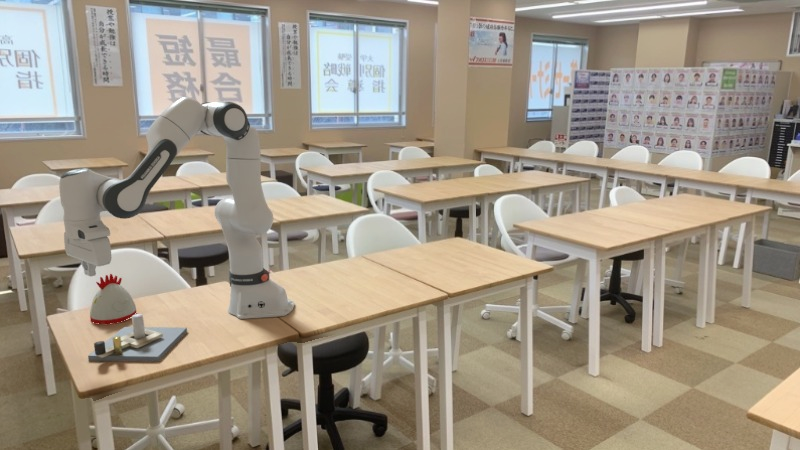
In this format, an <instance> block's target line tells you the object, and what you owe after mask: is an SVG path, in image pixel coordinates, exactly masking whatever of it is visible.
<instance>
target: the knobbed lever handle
mask: <svg viewBox="0 0 800 450" xmlns="http://www.w3.org/2000/svg"><path fill="white" fill-rule="evenodd" d="M144 329H145V328H144ZM161 337H163V333H159V332H155V331H152V330H148V329H145V337H144V338H142V339H140V340H136V339H134V332H132V333H129V334H127V335H124V336H122V337H121V345H122V349H124V348H126V347H128V346H131V347H134V348H139V347H141V346H143V345H145V344H148V343H150V342H152V341H154V340H157V339H159V338H161ZM105 342H106V341H104V340H99V341H95V342H94V343H93V347H94V351H95V354H96V355H97V356H98V357H101V358H103V357H105V356H108V355H110V354H112V353H114V346H111V347H109V348H106V349H105Z"/></svg>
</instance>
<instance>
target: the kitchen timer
mask: <svg viewBox="0 0 800 450" xmlns="http://www.w3.org/2000/svg"><path fill="white" fill-rule="evenodd" d="M122 278H123V277H119V279H118V275H113V274H112V273H109V275H108V274H105V278H103V277H102V276H100V277H99V280H100V282H98V281H96V285H97V286H98V287H99V288H98V290H97V291H96V292H95V294H94V296H93V299H92V302H91V306H90V311H89V317H90V322H91V321H92V322H94V323H99V324H107V325H111V324H110V323H115V324H118V323H117V322H120V323H122V322H121V321H124V320H126V319H128V318H130V317H132V316H133V315H135V313H136V312H137V307H136V304H135V303H136V302H135V301H134V299H133V297H132V295H131V294H130V293H129V291H128V290H127V289H126V288H125V287H123V285H121V283H122ZM136 314H137V313H136ZM92 322H91V323H92ZM124 322H125V321H124ZM94 323H93V324H94ZM99 324H98V325H99Z"/></svg>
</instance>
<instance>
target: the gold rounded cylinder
mask: <svg viewBox="0 0 800 450" xmlns="http://www.w3.org/2000/svg"><path fill="white" fill-rule="evenodd" d="M113 346H114V353H115V356H119V355H122V354H123V353H122V345H121V337H120V336H116V337H113Z"/></svg>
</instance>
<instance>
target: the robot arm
mask: <svg viewBox="0 0 800 450" xmlns="http://www.w3.org/2000/svg"><path fill="white" fill-rule="evenodd" d="M199 132H200V133H202V134H203V135H206V136H213V137H217V138H223V140H224V144H225V147H226V149H225V152H226V153H225V154H226V155H225V157H226V158H225V165H226V166H225V168H226V169H225V174H226V176H225V180H226V183H227V185H228V186H229V188H230V191H231V194H232V196H231V197H226V198H222V199H220V200H219V201H218V202H217V204H216V205H215V207H214V218H215V220H216V221H217V222H218V223H219V225H220V228H221V229H222V233H223V236H224V239H225V242H226V243H225V244H226V246H227V250H228V258H229V273H228V278H229V279H228V281H229V286H230V300H229V305H228V308H227V312H228V313H229V314H230V315H233V316H236V318H238V319H240V320H243V319H247V320H248V319H260V318H261V319H262V318H274V317H275V318H276V317H284V316H288V314H290V313H291V312H292V311H293V309H294V307H295V302H294V300H293V299H289V298H288V294H287V291H286V289H285V287H283V286H281V285H280V284H278V283H277V282H275V281H274V280H272V279H270V273H271V269H268V270H266V269H265V267H264V261H263V259H264V258H263V247H262V245H261V243H260V242H259V240H258V238H257V236H256V235H264V234H266V233H268V232H269V230H270V229H271V228H272V226H273V223H274V214H273V212H272V210H271V209H270V208H269V206H268V203H267V201H266V197H265V195H264V191H263V185H262V174H261V173H262V171H261V167H262V166H261V163H262V162H261V160H262V159H261V143H260V137H259V132H258V130H257V129H256V128H255V127H254V126H252V125H250V121H249V117H248V115H247V112H246V110H245V109H244V108H243V107H242V106H241V105H240V104H237V103H236V102H232V101H224V100H217V101H211V102H210V101H209V102H208V101H207V102H206V101H205V102H202V103H201V102H199V101H198V100H196V99H195V98H193V97H189V96H183V97H181V98H179V99H177V100H176V101H174V102H173V103H171V105H169V106H168V107H166V109H164V110H163V112H161V113H160V114H159V115H158V117H156V119H155V120H154V121H153V122H152V124H150V126H149V128H148V130H147V131H146V133H145V138H146V143H147V147H148V148H147V149H148V150H147V153H146V155H145V156H144V158H143V159H142V160H141V162H140V163H139V164H138V165H137V166H136V168H135V169H134V170H133V171H132V172H131V174H130V175H129V176H127V177H126V178H124V179H121V178H117V177H112V176H106V175H103V174H102V173H101V174H100V173H98V172H96V171H94V170H92V169H90V168H87V167H86V168H76V169H72V170H68V171H66V172H65V173H63V174H62V175H61V176H60V179H59V196H60V197H59V198H60V204H61V207H62V208H63V225H64V230H65V231H64V234H63V243H64V251H65V254H66V255H67V256H68V257H72V258H74V259H77V260H80V265H81V266H82V268H83V273H84V275H85V276H88V277H94V276H96V274H97V272H96V271H97V270H96V268H97V267H102V266H107V265H110V264H111V262H112V248H111V247H112V246H111V241H110V239H109V236H111V230H110V228H109V227H108V226H106V224H104V222H103V221H102V220H101V213H103V212H108V213H109V214H110V215H111V216H113V217H115V218H117V219H122V220H123V219H131V218H134V217H136V216H137V215H139V214H140V213H141V211H143V208H144V207H145V205H146V201H147V198H148V196H149V193H150V191H151V190H152V188H154V186H155V184H156V183H157V182H158V181H159V179H160V178H162V175H163V174H164V173H165V172H166V171H167V170H168V168H169V167H170V165H171V164H172V163H173V161H174V160H175V158H176V157H177V156H178V155H179V154H180V152H181V151H182V150H183V149H184V148H185V147H186V146H187V145H188V144H189V143H190V142H191V141H192V139H193V138H194V137H195V135H197V134H198V133H199Z"/></svg>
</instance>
